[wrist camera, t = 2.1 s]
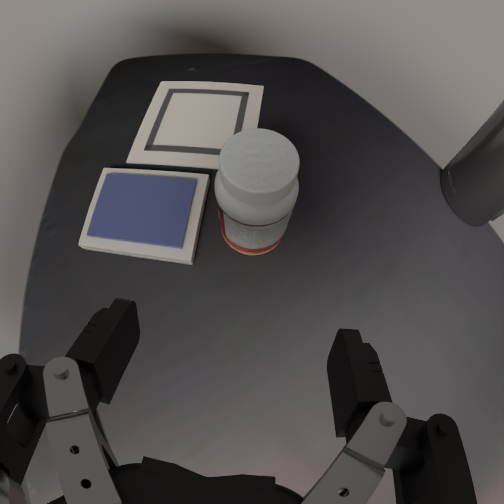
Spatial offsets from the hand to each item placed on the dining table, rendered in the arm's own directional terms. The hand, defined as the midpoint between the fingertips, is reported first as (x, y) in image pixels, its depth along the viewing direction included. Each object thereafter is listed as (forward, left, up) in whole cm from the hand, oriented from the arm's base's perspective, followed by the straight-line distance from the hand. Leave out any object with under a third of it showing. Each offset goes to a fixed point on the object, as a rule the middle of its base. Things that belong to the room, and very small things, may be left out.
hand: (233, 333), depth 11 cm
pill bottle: (0, -11, -15) cm, 19 cm away
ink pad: (+11, -11, -15) cm, 22 cm away
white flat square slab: (+8, -24, -15) cm, 29 cm away
